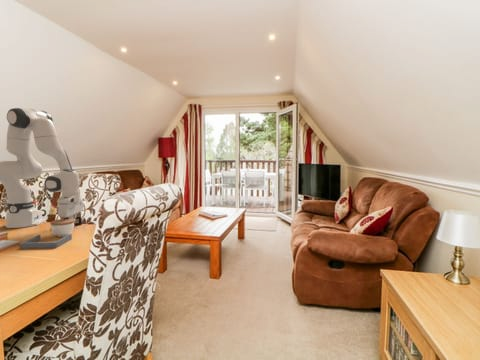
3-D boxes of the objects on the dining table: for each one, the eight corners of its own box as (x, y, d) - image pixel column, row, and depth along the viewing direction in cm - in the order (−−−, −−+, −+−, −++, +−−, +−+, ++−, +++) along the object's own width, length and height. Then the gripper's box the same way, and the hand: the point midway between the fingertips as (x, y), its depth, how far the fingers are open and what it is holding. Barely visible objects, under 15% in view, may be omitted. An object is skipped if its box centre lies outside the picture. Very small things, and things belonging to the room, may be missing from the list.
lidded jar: (49, 239, 141) (48, 221, 140) (53, 233, 150) (52, 216, 150) (73, 236, 145) (72, 219, 145) (76, 231, 155) (75, 215, 154)
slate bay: (38, 239, 140) (38, 234, 140) (71, 238, 141) (71, 234, 141) (19, 248, 126) (19, 243, 126) (56, 247, 128) (56, 242, 128)
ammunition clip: (61, 226, 165) (60, 206, 164) (61, 226, 167) (60, 206, 166) (81, 224, 170) (80, 205, 169) (82, 224, 171) (81, 205, 170)
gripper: (74, 195, 166) (75, 218, 167) (55, 201, 146) (56, 226, 147) (85, 195, 167) (86, 217, 168) (67, 200, 147) (69, 226, 148)
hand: (72, 222), depth 157 cm, fingers closed
